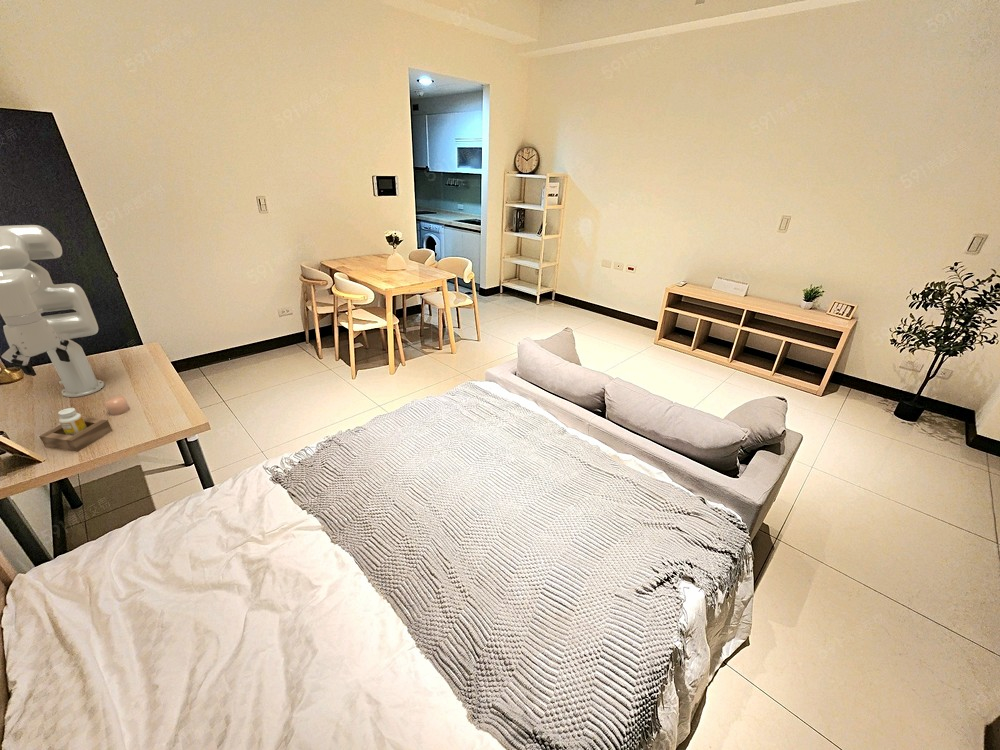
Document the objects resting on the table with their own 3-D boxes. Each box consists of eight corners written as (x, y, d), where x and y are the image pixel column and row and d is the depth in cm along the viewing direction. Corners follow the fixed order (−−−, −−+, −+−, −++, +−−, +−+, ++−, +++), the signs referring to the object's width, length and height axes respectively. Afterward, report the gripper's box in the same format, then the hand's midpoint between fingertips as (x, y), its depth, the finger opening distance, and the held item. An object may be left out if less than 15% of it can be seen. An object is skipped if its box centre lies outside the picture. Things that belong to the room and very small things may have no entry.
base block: (46, 448, 136) (38, 436, 134) (83, 427, 147) (76, 415, 144) (78, 452, 135) (71, 440, 133) (113, 431, 146) (107, 420, 143)
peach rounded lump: (104, 414, 154) (99, 402, 151) (119, 405, 159) (114, 394, 157) (119, 416, 153) (114, 404, 151) (133, 407, 158) (129, 396, 156)
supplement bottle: (69, 441, 137) (56, 417, 132) (66, 434, 140) (53, 411, 135) (90, 434, 140) (78, 410, 136) (87, 428, 143) (75, 404, 139)
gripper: (45, 306, 131) (68, 354, 139) (-25, 326, 116) (6, 378, 124) (65, 310, 130) (87, 357, 138) (-3, 330, 115) (27, 382, 124)
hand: (49, 367), depth 131 cm, fingers open, 9 cm apart
